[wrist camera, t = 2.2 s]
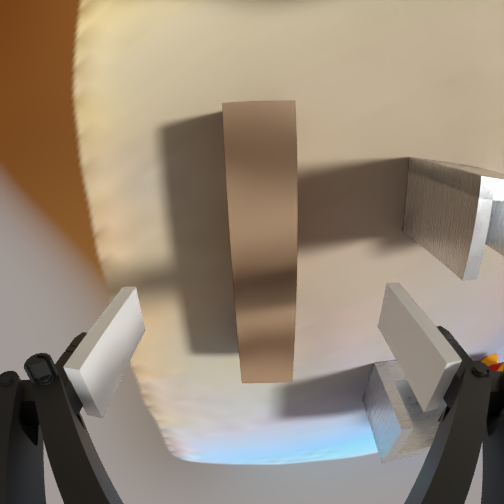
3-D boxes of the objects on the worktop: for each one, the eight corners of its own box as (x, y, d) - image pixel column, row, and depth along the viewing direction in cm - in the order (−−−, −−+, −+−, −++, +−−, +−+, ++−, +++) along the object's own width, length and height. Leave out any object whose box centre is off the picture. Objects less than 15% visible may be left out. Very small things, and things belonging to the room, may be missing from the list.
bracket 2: (475, 232, 22) (537, 273, 14) (402, 230, 23) (462, 280, 14) (483, 168, 20) (555, 191, 12) (409, 157, 20) (481, 175, 12)
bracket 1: (374, 362, 28) (401, 430, 19) (439, 352, 28) (475, 409, 19) (362, 400, 30) (381, 463, 22) (424, 389, 30) (450, 444, 21)
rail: (230, 110, 20) (222, 103, 15) (287, 108, 20) (295, 100, 15) (244, 344, 27) (241, 383, 23) (287, 343, 27) (292, 381, 23)
